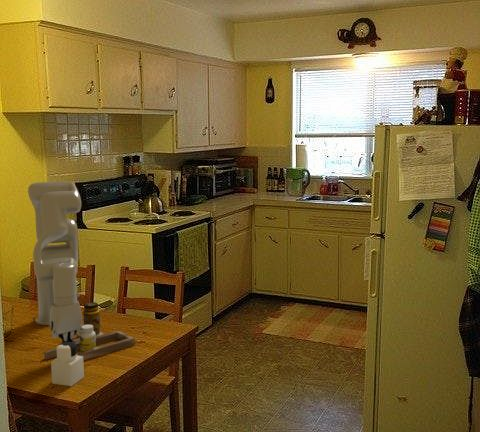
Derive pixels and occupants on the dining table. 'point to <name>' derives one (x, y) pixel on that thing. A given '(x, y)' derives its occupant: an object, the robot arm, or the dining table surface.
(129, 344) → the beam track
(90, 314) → the condiment
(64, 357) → the white stacked blocks
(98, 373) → the dining table surface
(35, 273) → the robot arm
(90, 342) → the supplement bottle
